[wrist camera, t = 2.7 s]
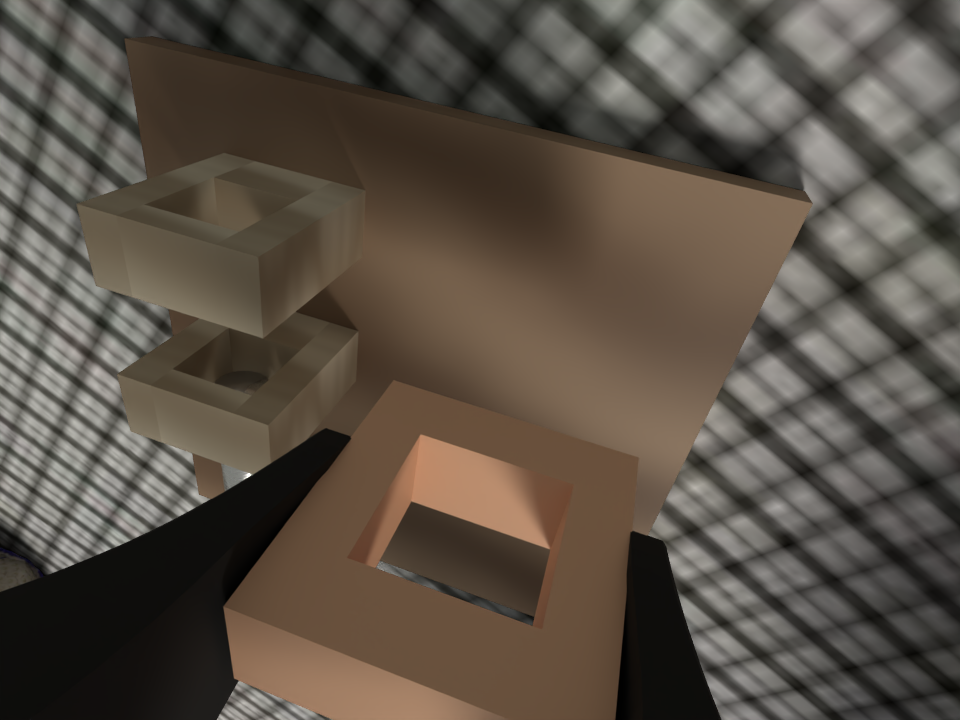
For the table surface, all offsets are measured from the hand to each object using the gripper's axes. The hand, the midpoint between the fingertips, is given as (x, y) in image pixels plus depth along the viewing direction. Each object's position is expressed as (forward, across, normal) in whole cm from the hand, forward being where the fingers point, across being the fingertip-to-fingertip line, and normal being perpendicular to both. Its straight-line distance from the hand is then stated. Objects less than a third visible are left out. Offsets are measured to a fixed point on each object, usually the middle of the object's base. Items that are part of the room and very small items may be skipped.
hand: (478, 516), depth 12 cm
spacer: (+2, 0, 0) cm, 2 cm away
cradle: (+8, +4, +3) cm, 9 cm away
